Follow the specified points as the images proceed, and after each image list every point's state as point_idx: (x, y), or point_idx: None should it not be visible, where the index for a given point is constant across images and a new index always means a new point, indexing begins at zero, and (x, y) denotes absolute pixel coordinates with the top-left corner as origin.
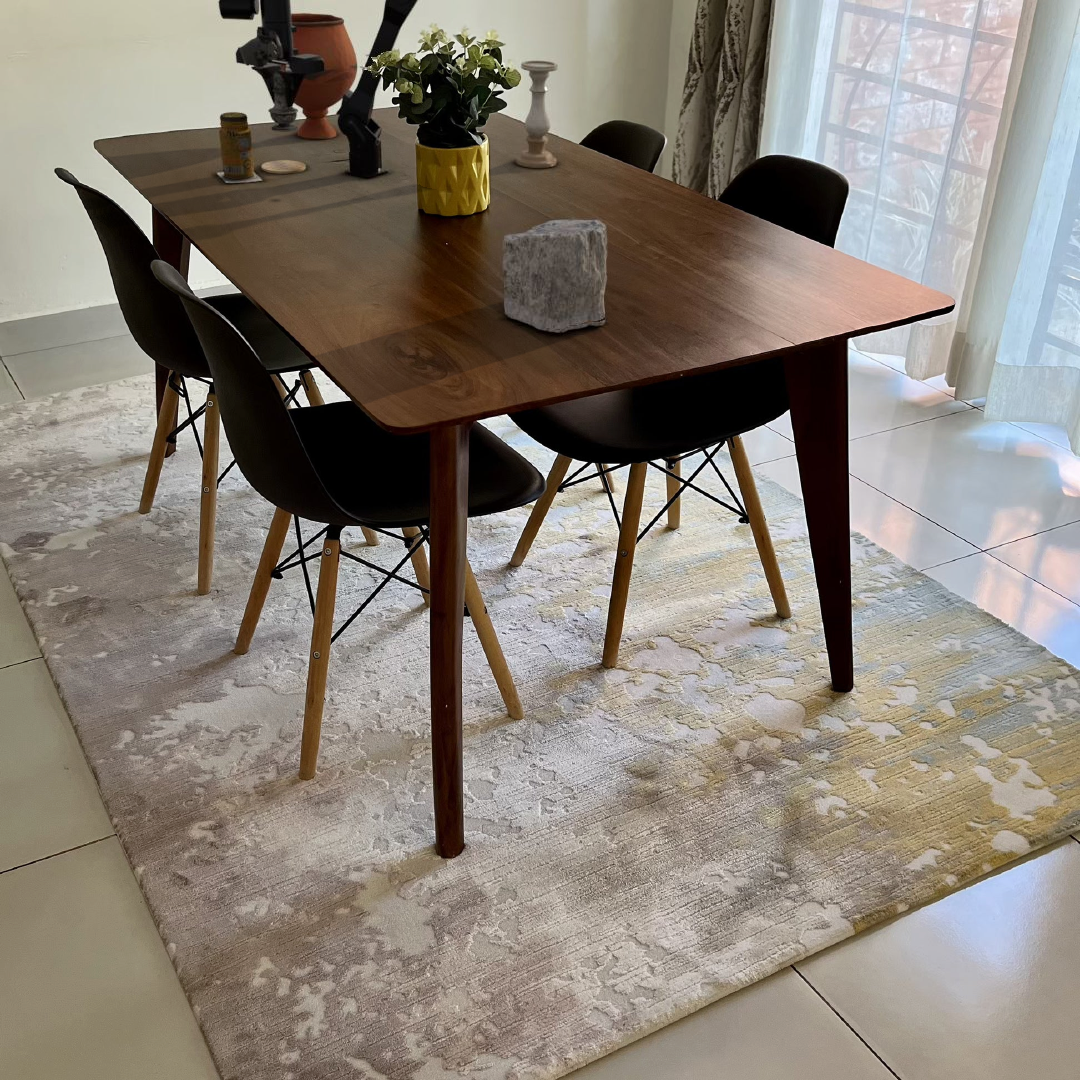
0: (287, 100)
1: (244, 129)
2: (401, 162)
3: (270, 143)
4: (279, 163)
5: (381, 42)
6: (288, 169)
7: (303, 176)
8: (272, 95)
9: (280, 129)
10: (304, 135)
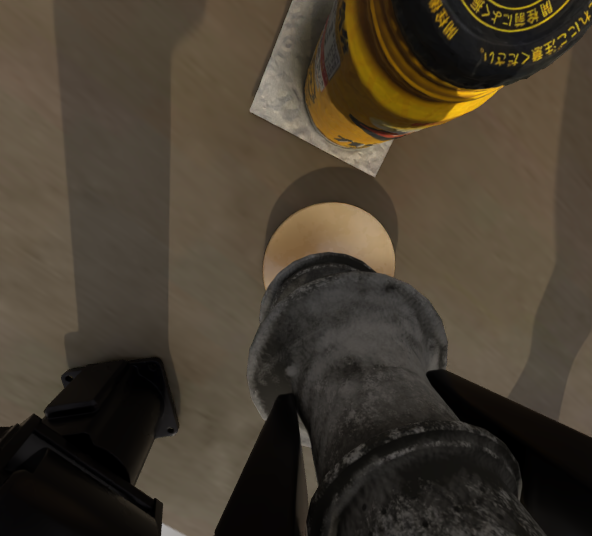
0: (279, 424)
1: (360, 9)
2: (167, 513)
3: (532, 393)
4: None
5: None
6: (284, 253)
7: (214, 253)
8: (480, 405)
9: (298, 271)
10: None
